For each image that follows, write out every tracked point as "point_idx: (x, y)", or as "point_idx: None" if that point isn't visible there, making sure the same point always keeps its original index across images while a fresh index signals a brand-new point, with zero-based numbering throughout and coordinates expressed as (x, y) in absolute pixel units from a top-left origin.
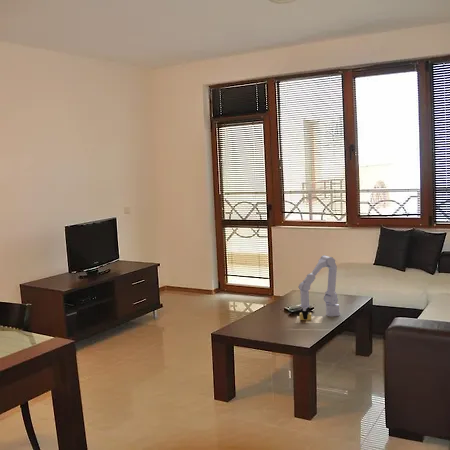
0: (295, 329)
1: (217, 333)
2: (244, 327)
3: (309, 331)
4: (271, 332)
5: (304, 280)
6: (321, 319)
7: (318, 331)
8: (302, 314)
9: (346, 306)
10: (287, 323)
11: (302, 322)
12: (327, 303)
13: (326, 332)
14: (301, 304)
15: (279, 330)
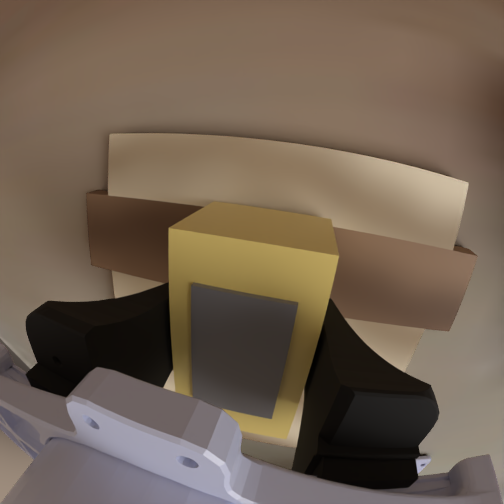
0: (13, 157)
1: None
2: None
3: (3, 269)
4: (4, 3)
5: None
6: (247, 435)
7: (19, 324)
8: (169, 292)
9: (499, 488)
10: (183, 24)
11: (126, 235)
12: None
13: (23, 358)
14: (28, 484)
15: (15, 32)
